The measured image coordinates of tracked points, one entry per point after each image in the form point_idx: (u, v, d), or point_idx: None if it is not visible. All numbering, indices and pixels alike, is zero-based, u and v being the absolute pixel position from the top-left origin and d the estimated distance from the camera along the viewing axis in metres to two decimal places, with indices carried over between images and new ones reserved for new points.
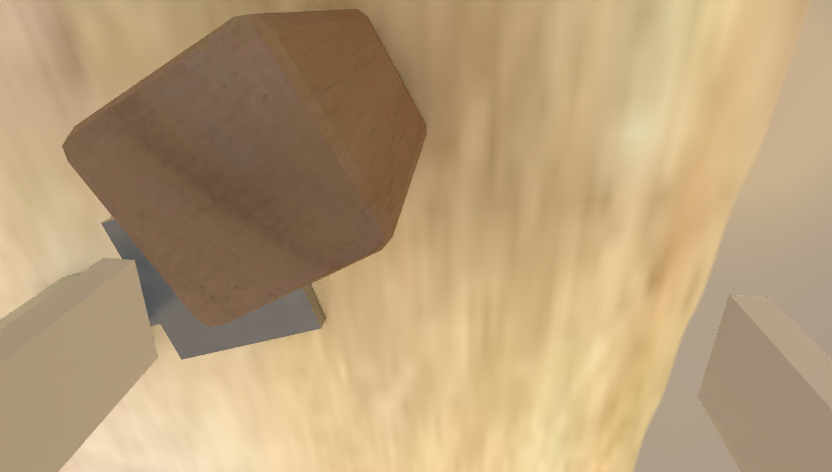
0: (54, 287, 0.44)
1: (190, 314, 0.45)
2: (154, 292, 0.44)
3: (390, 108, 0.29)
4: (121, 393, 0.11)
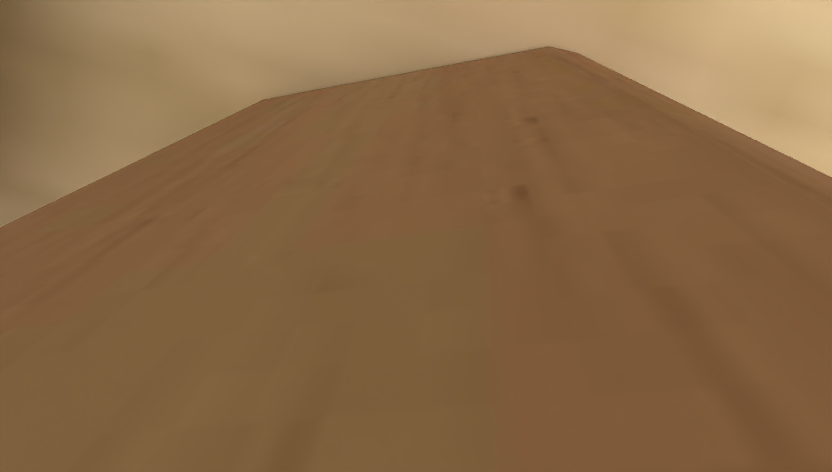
0: None
1: None
2: None
3: (418, 133, 0.07)
4: None
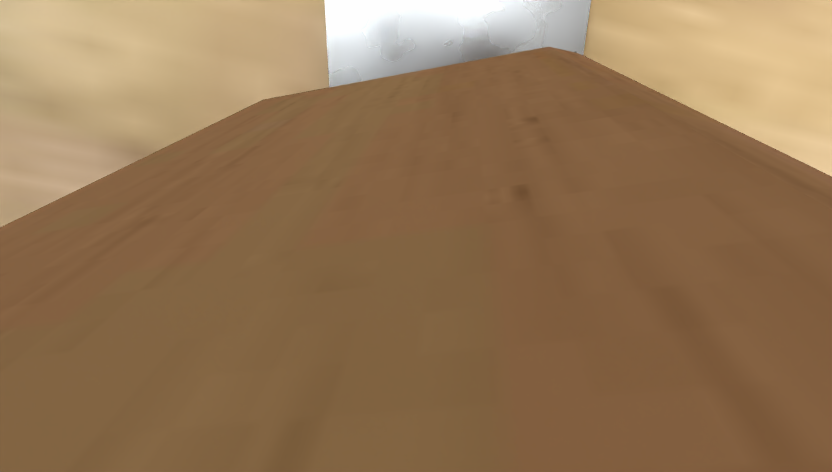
0: None
1: None
2: None
3: (418, 133, 0.07)
4: None
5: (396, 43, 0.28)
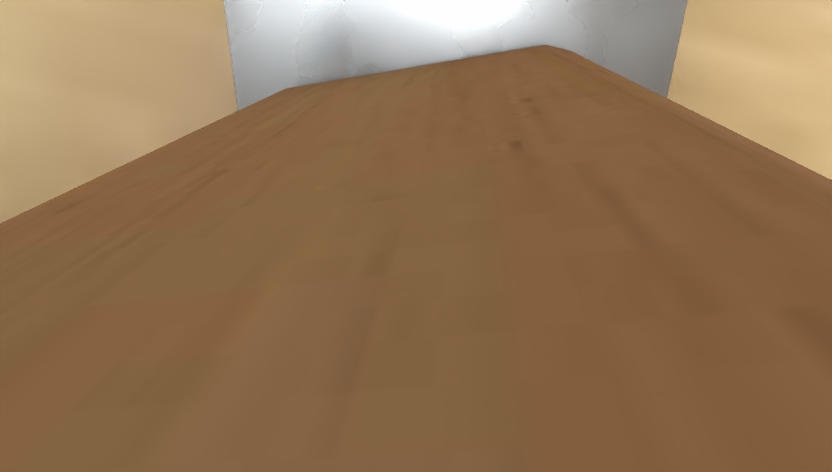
0: None
1: None
2: None
3: (433, 110, 0.08)
4: None
5: (348, 71, 0.17)
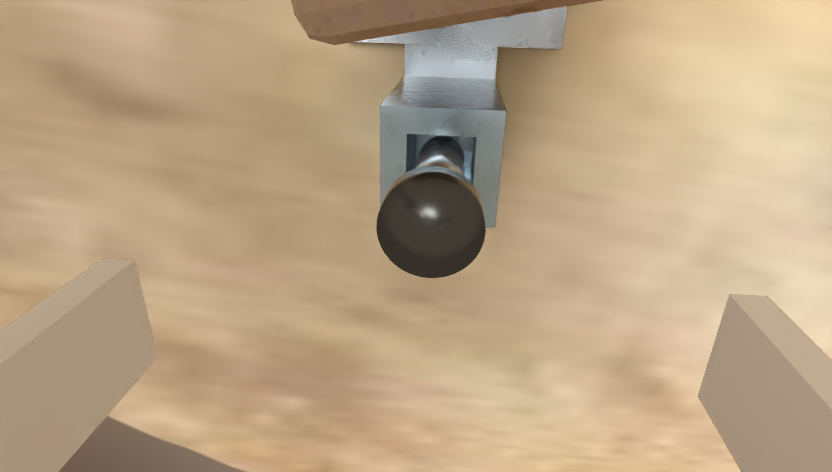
0: None
1: None
2: (451, 25, 0.33)
3: None
4: (121, 393, 0.11)
5: None
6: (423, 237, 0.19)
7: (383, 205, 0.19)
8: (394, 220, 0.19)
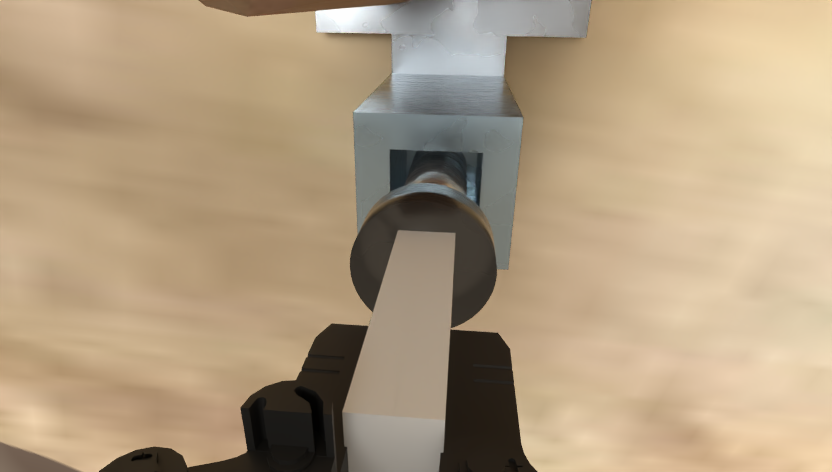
0: None
1: None
2: (449, 10, 0.26)
3: None
4: None
5: None
6: None
7: (358, 238, 0.14)
8: (373, 258, 0.14)
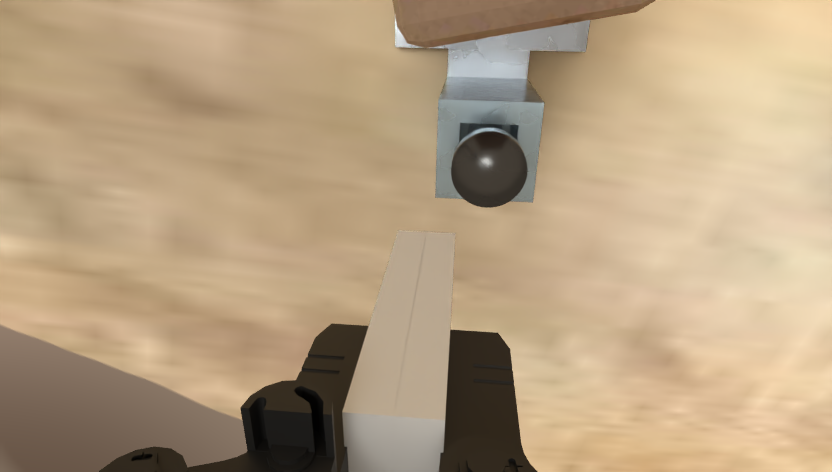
0: None
1: None
2: None
3: None
4: None
5: None
6: (484, 177, 0.27)
7: (456, 154, 0.27)
8: (463, 165, 0.27)
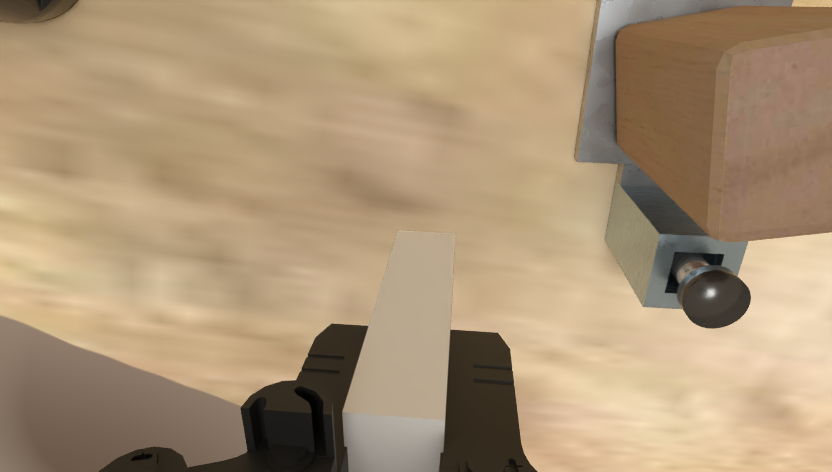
0: (612, 238, 0.47)
1: None
2: None
3: (752, 15, 0.32)
4: None
5: (650, 18, 0.40)
6: (712, 306, 0.34)
7: (693, 289, 0.34)
8: (697, 297, 0.34)
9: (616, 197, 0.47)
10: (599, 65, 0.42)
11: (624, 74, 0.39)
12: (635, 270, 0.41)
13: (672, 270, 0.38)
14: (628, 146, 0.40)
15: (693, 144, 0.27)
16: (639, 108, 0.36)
